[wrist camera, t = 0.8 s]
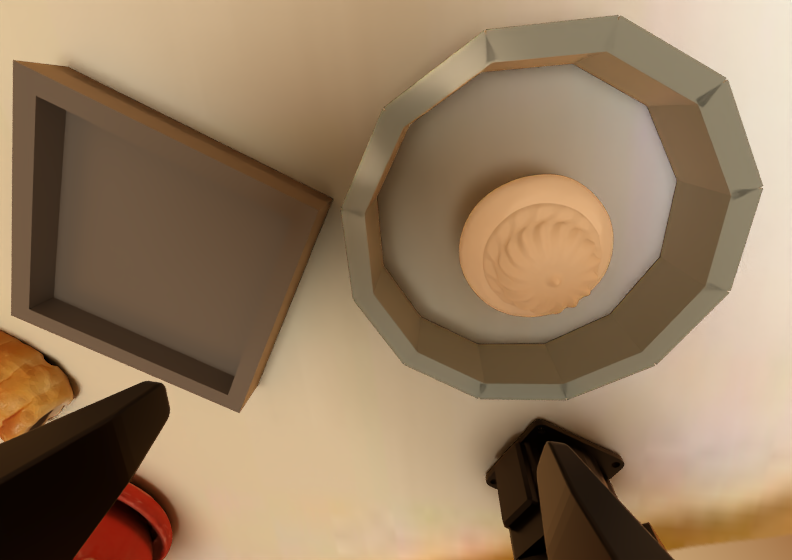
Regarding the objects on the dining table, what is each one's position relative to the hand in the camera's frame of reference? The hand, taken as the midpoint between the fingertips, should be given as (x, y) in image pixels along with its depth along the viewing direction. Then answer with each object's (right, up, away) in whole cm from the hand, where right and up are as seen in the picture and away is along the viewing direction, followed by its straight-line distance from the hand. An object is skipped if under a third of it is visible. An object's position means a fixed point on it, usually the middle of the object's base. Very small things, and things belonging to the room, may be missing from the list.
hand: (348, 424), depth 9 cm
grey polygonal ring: (+7, +6, +10) cm, 14 cm away
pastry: (-26, -3, +19) cm, 32 cm away
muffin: (+7, +6, +10) cm, 14 cm away
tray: (-11, +5, +13) cm, 18 cm away
